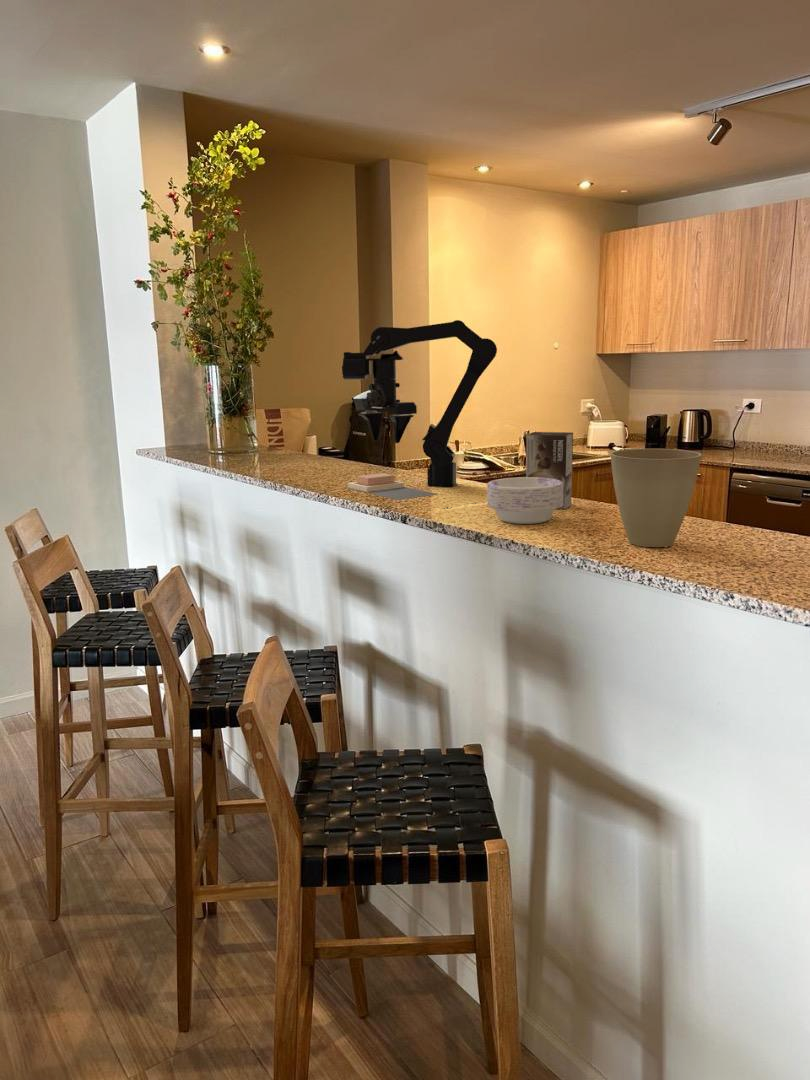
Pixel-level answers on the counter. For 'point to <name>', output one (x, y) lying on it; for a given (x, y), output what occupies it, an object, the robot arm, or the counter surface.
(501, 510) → the paper bowls
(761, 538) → the counter surface
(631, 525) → the plant pot
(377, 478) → the pink rectangular block
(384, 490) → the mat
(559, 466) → the coffee box
